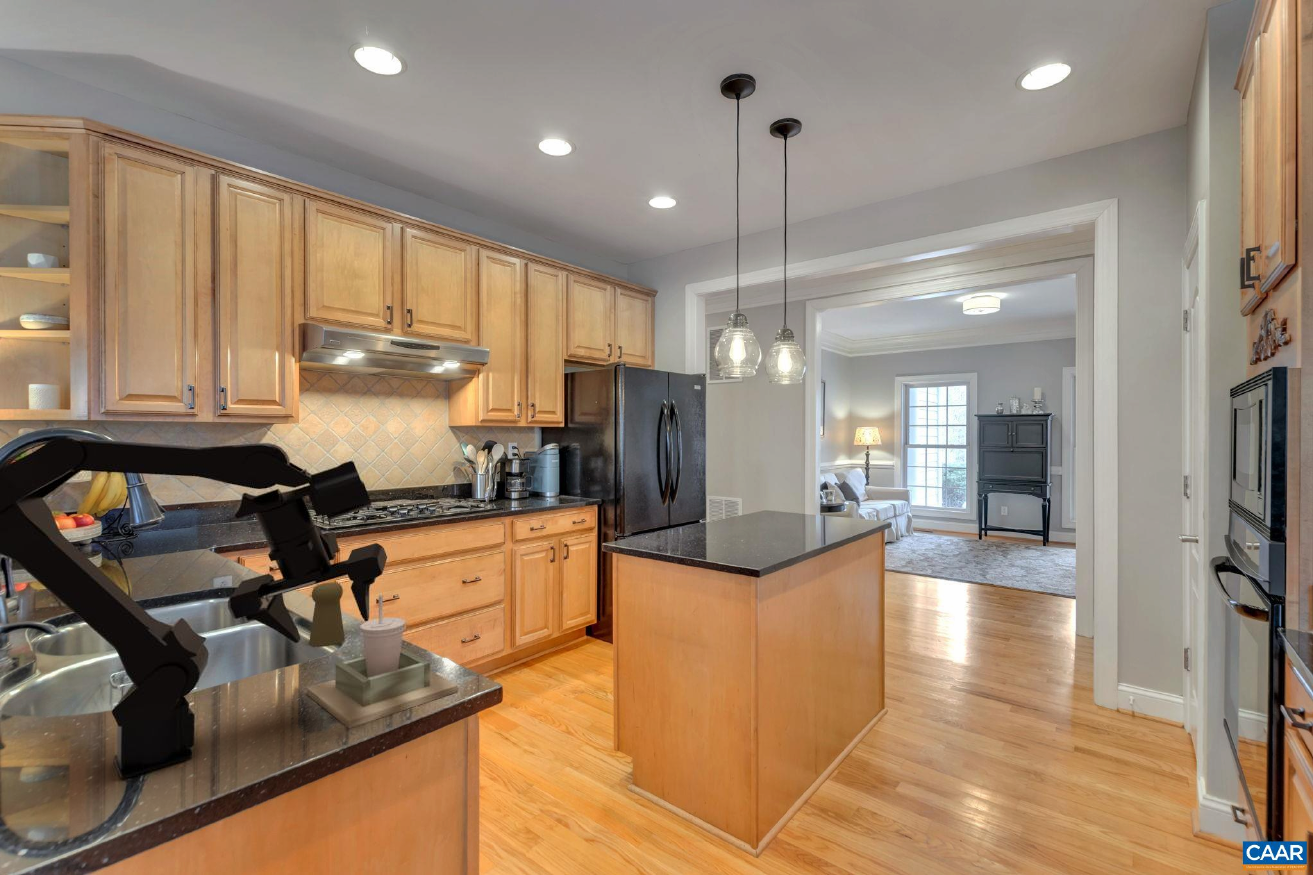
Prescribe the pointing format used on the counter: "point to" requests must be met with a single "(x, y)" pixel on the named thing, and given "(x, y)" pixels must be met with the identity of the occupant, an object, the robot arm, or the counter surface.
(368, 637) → the smoothie
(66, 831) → the counter surface
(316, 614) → the cork
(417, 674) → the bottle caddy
